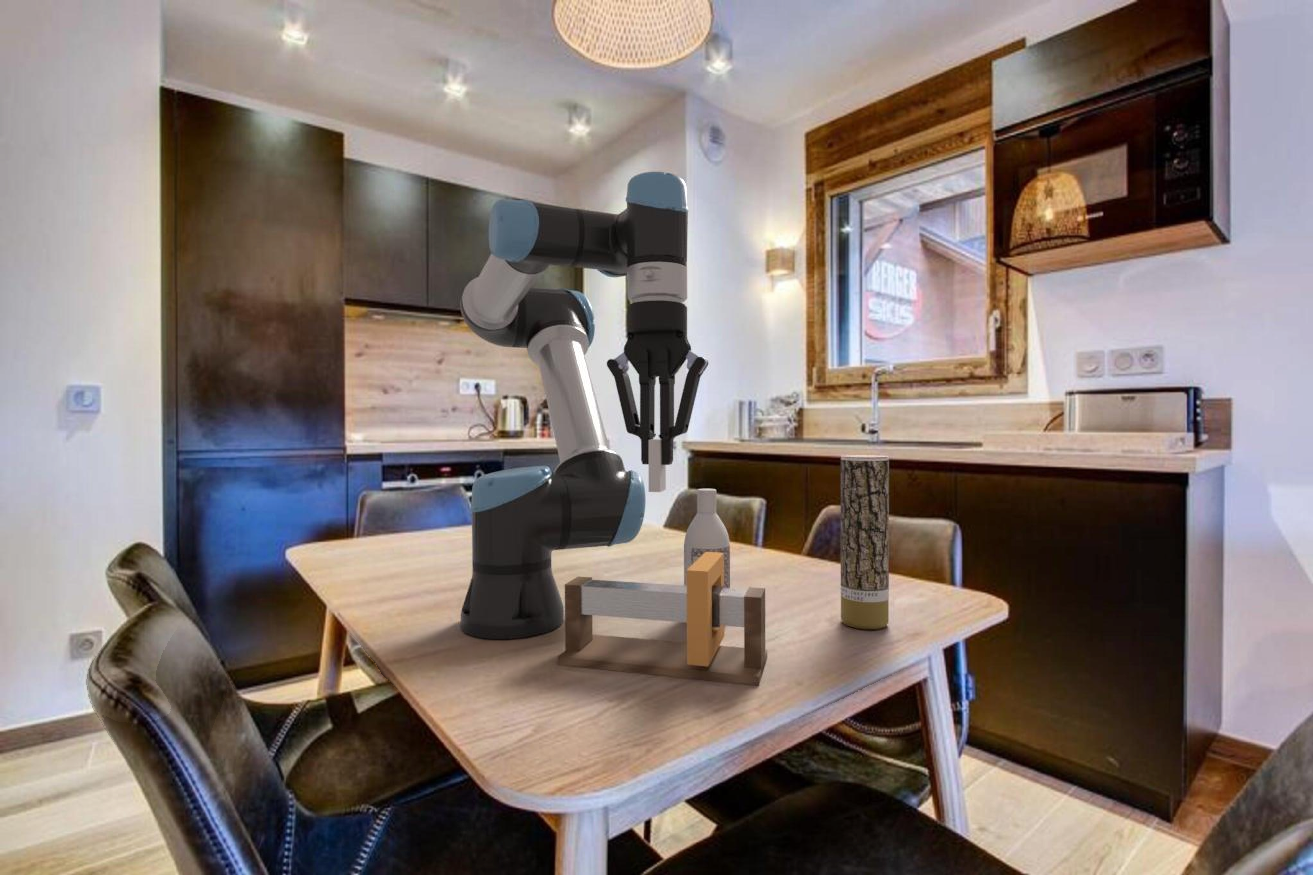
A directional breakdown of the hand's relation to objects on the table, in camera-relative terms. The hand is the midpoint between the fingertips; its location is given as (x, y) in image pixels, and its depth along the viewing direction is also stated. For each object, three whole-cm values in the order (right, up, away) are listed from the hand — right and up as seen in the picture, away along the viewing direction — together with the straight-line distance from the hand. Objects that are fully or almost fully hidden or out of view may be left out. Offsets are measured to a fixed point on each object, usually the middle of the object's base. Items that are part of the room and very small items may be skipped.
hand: (657, 490), depth 81 cm
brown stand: (+1, -22, 0) cm, 22 cm away
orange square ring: (+6, -20, -2) cm, 21 cm away
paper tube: (+31, -21, +14) cm, 40 cm away
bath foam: (+8, -21, +17) cm, 28 cm away
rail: (+1, -16, 0) cm, 16 cm away
